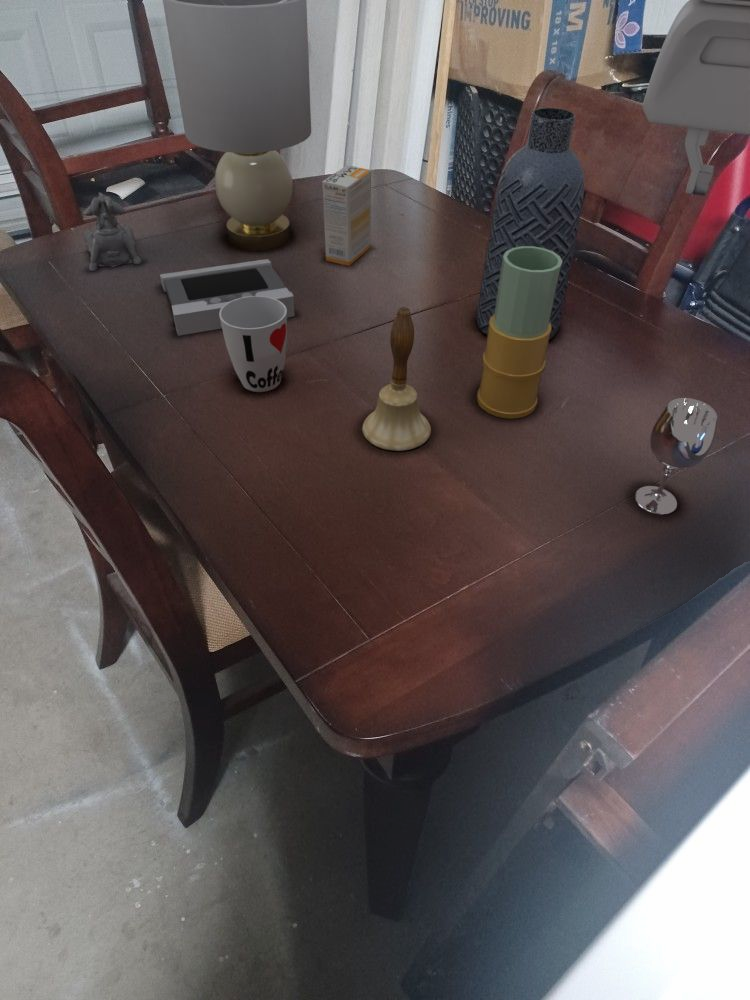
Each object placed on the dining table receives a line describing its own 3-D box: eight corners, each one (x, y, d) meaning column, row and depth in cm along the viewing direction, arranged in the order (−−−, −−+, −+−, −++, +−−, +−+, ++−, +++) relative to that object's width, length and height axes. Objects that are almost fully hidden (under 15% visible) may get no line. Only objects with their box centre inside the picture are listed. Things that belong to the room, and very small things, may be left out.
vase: (558, 352, 97) (607, 133, 78) (471, 341, 99) (498, 125, 79) (559, 309, 106) (604, 103, 86) (479, 301, 108) (506, 96, 88)
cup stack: (541, 391, 91) (558, 315, 83) (529, 424, 85) (546, 346, 78) (485, 378, 92) (496, 302, 85) (469, 410, 87) (480, 333, 80)
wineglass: (625, 510, 75) (658, 421, 67) (632, 477, 79) (664, 389, 70) (681, 525, 73) (722, 436, 65) (685, 490, 77) (724, 402, 69)
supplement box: (347, 242, 122) (346, 163, 113) (371, 248, 120) (372, 168, 111) (324, 261, 117) (320, 180, 108) (349, 267, 115) (348, 185, 106)
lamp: (177, 244, 120) (130, -6, 96) (251, 206, 133) (226, -23, 108) (269, 274, 113) (244, 12, 88) (338, 231, 125) (333, -9, 101)
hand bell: (383, 401, 88) (387, 284, 77) (442, 422, 85) (454, 304, 74) (349, 437, 83) (347, 316, 72) (410, 460, 80) (418, 339, 69)
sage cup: (552, 316, 83) (566, 251, 77) (542, 343, 78) (556, 276, 73) (500, 306, 84) (510, 242, 79) (487, 331, 80) (497, 265, 74)
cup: (242, 405, 87) (232, 335, 80) (221, 372, 92) (210, 304, 86) (301, 388, 90) (296, 319, 83) (278, 358, 95) (272, 290, 88)
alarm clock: (173, 315, 96) (156, 256, 106) (179, 343, 100) (161, 283, 110) (293, 296, 101) (265, 241, 111) (294, 323, 104) (267, 268, 114)
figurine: (135, 240, 122) (121, 175, 114) (142, 264, 115) (127, 197, 107) (85, 246, 119) (67, 181, 112) (89, 271, 113) (71, 203, 105)
